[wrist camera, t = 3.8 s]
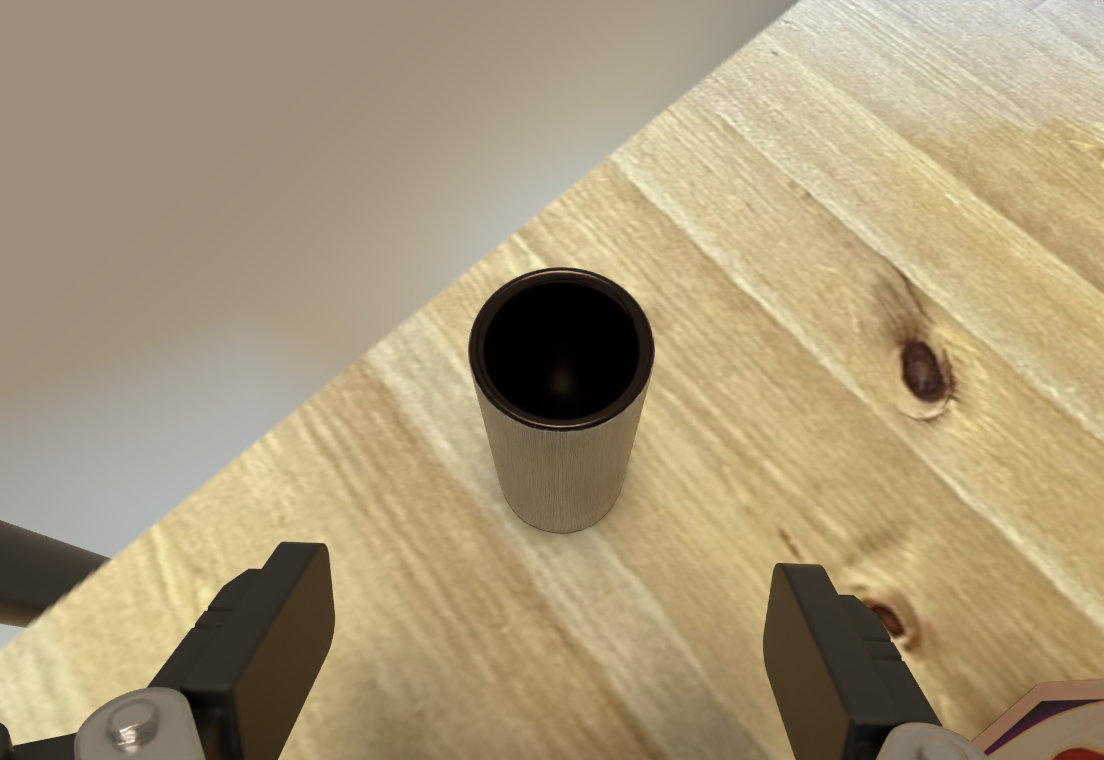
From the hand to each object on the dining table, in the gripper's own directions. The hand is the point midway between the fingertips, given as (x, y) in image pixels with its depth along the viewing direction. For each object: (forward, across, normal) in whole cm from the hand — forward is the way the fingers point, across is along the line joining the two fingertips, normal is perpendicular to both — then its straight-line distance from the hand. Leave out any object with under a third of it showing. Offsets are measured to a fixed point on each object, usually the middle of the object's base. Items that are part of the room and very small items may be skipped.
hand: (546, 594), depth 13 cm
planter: (+13, 0, +4) cm, 14 cm away
